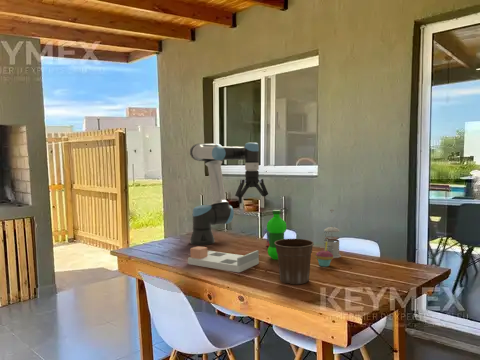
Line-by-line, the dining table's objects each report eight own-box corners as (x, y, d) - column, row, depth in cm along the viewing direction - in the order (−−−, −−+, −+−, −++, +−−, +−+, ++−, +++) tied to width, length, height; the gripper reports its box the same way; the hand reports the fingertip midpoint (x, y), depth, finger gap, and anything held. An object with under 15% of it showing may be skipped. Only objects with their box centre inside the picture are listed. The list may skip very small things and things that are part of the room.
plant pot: (287, 288, 148) (286, 248, 148) (267, 277, 163) (267, 240, 162) (321, 283, 155) (321, 244, 154) (300, 273, 170) (300, 237, 169)
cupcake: (321, 262, 188) (321, 238, 187) (337, 265, 182) (337, 240, 181) (311, 265, 182) (311, 240, 181) (327, 268, 176) (327, 243, 175)
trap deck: (187, 263, 187) (187, 250, 187) (209, 256, 202) (209, 244, 202) (239, 272, 171) (239, 258, 171) (258, 263, 186) (258, 250, 186)
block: (190, 257, 188) (190, 248, 188) (198, 254, 193) (198, 246, 193) (200, 258, 185) (200, 249, 184) (207, 256, 190) (207, 247, 190)
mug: (261, 246, 226) (261, 228, 226) (271, 243, 233) (271, 226, 232) (277, 249, 218) (277, 230, 217) (287, 246, 224) (287, 228, 224)
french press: (330, 258, 194) (329, 210, 193) (316, 254, 205) (316, 208, 204) (345, 256, 199) (345, 209, 198) (331, 252, 209) (331, 207, 208)
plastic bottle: (290, 257, 197) (290, 210, 196) (278, 261, 189) (278, 212, 188) (275, 254, 204) (274, 208, 203) (263, 258, 196) (262, 210, 195)
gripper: (235, 171, 201) (235, 210, 202) (274, 170, 214) (274, 207, 215) (229, 170, 208) (229, 209, 209) (266, 170, 220) (266, 206, 221)
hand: (252, 208), depth 212 cm, fingers open, 13 cm apart
